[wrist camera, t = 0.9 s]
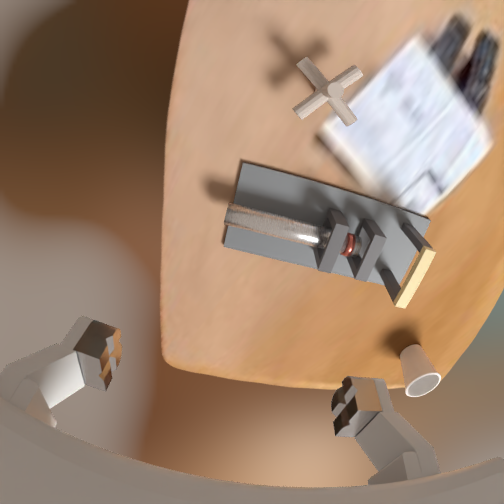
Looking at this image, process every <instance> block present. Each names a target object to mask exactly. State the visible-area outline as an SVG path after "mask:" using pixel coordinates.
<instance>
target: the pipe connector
mask: <svg viewBox="0 0 504 504" xmlns="http://www.w3.org/2000/svg"><path fill="white" fill-rule="evenodd" d="M296 65H297V66H298V68H299V69H300V70H301V71H302V72H303V73H304V74H305V76H306V77H307V78H308V79H309V80H310V81H311V83H312V84H313V85H314V86H315V87H316V89H315V92H314V93H313V94H311V95H310V96H309V97H307V98H306V99H305V100H303V101H302V102H301V103H299V104H298V105H297V106H295V107H294V108H293V110H294V112H295V113H296V114H297V115H298V116H299V118H300V119H301V120H302V119H304V118H305V117H306V116H308V115H309V114H310V113H312V112H313V111H314V110H316V109H317V108H318V107H320V106H321V105H322V104H324V103H325V102H328V103H329V105H330V106H331V107H332V108H333V110H334V111H335V112H336V114H337V115H338V116H339V117H340V119H341V120H342V121H343V123H344V124H345V125H346V126H349V125H351V124H353V123H354V122H355V121H356V120H357V118H356V116H355V115H354V114H353V112H352V111H351V110H350V108H349V107H348V106H347V104H346V103H345V102H344V100H343V99H342V98H341V96H342V95H343V93H344V89H345V88H346V87H348V86H349V85H350V84H352V83H353V82H355V81H356V80H358V79H359V78H361V77H362V76H363V74H362V72H361V71H360V69H359V68H358V67H357V66H355V65H353V66H351V67H350V68H348V69H347V70H345V71H344V72H342V73H341V74H339V75H338V76H337V77H335V78H334V79H332V80H331V81H328V80H327V79H326V78H325V77H324V75H323V74H322V73H321V72H320V71H319V69H318V68H317V67H316V66H315V65H314V64H313V63H312V61H311V60H310V59H309V58H308V57H306V58H304V59H303V60H301V61H300V62H299V63H297V64H296Z"/></svg>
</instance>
